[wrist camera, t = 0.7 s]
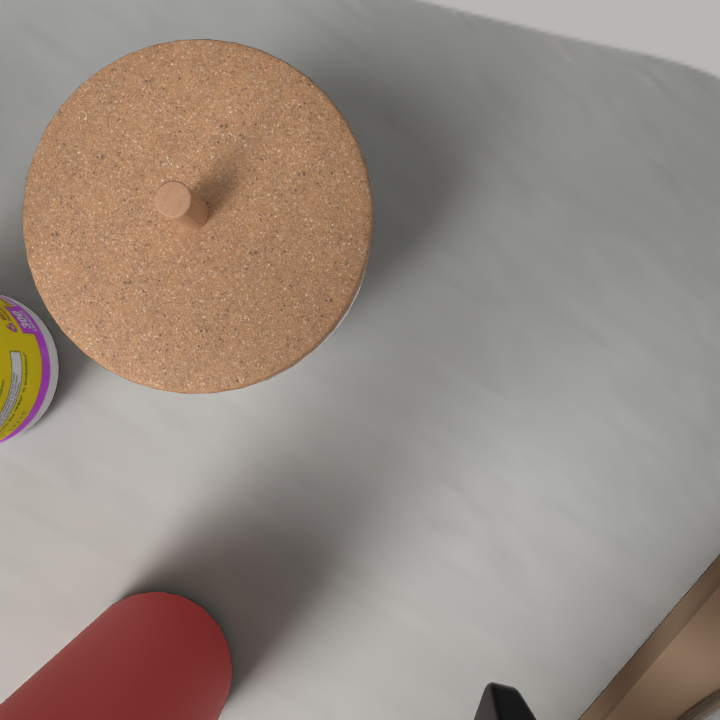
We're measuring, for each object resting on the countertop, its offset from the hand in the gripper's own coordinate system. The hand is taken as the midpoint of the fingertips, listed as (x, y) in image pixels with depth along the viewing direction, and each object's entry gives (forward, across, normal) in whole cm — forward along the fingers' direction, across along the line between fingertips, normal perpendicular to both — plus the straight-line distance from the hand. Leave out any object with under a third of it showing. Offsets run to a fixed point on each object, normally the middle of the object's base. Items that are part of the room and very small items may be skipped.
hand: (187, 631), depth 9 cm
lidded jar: (+18, +4, -2) cm, 19 cm away
